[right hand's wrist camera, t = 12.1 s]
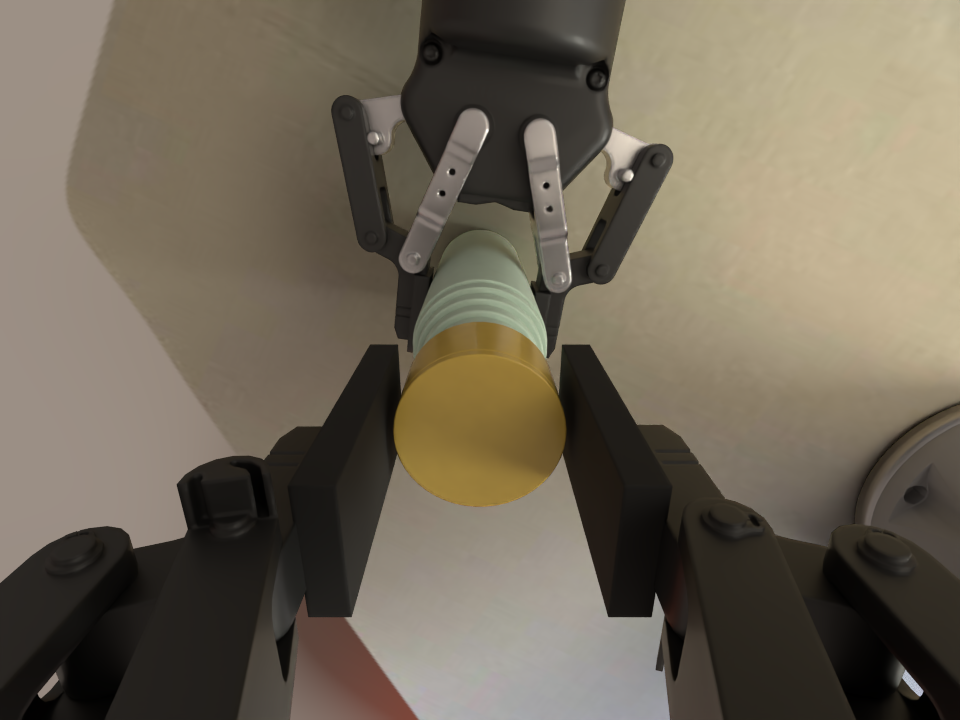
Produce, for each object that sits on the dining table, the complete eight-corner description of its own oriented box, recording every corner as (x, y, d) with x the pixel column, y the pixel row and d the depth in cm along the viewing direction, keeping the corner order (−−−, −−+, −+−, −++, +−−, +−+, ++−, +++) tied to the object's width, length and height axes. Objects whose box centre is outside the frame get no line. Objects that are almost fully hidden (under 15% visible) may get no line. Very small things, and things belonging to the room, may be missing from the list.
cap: (512, 473, 16) (518, 529, 13) (385, 421, 15) (367, 470, 13) (579, 358, 14) (599, 398, 12) (442, 296, 14) (435, 324, 11)
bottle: (498, 322, 31) (521, 531, 14) (426, 289, 30) (355, 466, 13) (535, 251, 29) (612, 385, 12) (460, 215, 29) (430, 302, 11)
